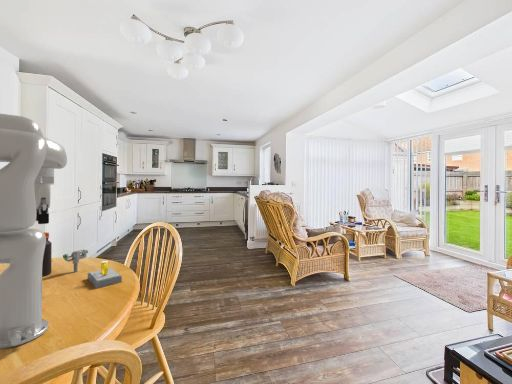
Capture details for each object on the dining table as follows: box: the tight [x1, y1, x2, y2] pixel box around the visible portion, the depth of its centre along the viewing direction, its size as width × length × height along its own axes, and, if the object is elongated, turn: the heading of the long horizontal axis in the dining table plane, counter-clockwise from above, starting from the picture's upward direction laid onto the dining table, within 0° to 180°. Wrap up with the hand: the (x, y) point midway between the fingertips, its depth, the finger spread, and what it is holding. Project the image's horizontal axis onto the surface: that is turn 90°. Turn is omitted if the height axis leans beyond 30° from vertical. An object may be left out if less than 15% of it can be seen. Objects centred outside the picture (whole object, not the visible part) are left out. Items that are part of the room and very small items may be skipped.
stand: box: [87, 267, 123, 289], centre depth 110 cm, size 14×10×3 cm
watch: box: [100, 260, 109, 275], centre depth 110 cm, size 6×3×6 cm, turn 46°
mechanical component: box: [62, 249, 89, 273], centre depth 119 cm, size 3×10×10 cm, turn 152°
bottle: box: [42, 231, 53, 277], centre depth 114 cm, size 7×7×20 cm
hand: (41, 222), depth 98 cm, fingers open, 9 cm apart
